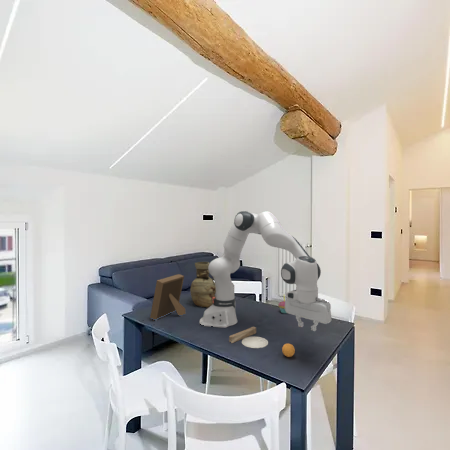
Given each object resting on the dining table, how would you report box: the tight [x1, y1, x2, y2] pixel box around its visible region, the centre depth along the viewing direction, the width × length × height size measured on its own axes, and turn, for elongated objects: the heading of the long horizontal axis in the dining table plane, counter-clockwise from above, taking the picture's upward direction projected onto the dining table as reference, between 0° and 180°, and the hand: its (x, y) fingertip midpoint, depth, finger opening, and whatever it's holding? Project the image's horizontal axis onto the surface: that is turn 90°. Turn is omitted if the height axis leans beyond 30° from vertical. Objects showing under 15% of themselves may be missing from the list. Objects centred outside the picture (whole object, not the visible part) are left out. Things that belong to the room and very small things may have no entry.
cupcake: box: [277, 293, 287, 314], centre depth 188 cm, size 9×8×12 cm
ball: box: [281, 343, 296, 358], centre depth 128 cm, size 6×6×6 cm
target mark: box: [241, 336, 269, 349], centre depth 143 cm, size 13×13×1 cm
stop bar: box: [228, 326, 257, 344], centre depth 149 cm, size 2×18×3 cm, turn 133°
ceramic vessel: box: [189, 261, 216, 309], centre depth 207 cm, size 19×21×30 cm
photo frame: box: [149, 273, 186, 319], centre depth 182 cm, size 15×22×25 cm
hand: (307, 328), depth 121 cm, fingers open, 5 cm apart
